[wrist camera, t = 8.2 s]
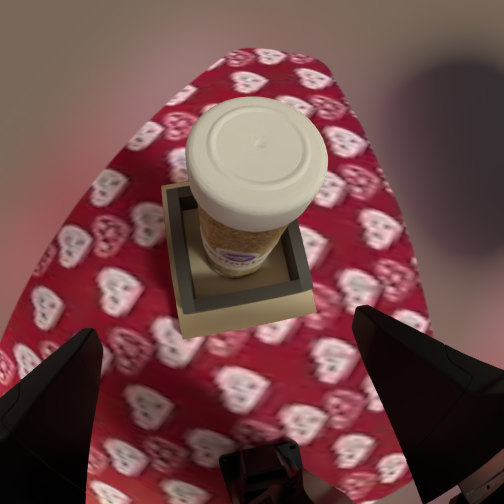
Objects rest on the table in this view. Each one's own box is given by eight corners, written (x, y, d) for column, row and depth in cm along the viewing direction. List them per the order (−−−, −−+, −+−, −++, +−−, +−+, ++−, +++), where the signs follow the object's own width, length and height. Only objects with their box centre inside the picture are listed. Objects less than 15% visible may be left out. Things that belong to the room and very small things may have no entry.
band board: (311, 312, 22) (328, 311, 18) (184, 338, 20) (177, 342, 17) (278, 175, 24) (287, 152, 21) (163, 192, 23) (155, 170, 19)
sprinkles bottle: (209, 284, 20) (188, 222, 7) (201, 224, 21) (180, 96, 8) (271, 274, 21) (349, 204, 8) (260, 216, 22) (310, 91, 9)
